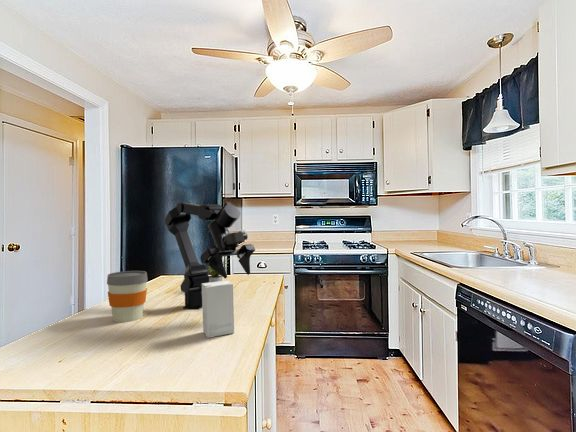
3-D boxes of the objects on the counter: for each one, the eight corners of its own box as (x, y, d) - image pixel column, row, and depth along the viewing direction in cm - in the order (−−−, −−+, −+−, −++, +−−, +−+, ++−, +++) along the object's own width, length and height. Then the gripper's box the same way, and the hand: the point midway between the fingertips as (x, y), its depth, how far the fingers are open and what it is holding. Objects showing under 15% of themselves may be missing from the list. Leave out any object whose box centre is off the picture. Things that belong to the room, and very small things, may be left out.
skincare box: (229, 328, 108) (228, 279, 108) (235, 334, 103) (234, 283, 103) (201, 332, 105) (201, 282, 105) (206, 338, 99) (205, 285, 99)
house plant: (227, 294, 154) (227, 256, 154) (196, 294, 154) (195, 256, 154) (233, 287, 168) (233, 252, 168) (204, 287, 168) (204, 253, 168)
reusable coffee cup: (156, 315, 122) (155, 272, 122) (125, 325, 111) (125, 278, 111) (129, 311, 128) (129, 269, 127) (98, 321, 116) (97, 275, 116)
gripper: (208, 222, 109) (225, 266, 103) (254, 221, 123) (272, 260, 116) (193, 242, 116) (208, 284, 109) (238, 239, 129) (255, 276, 123)
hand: (237, 275), depth 114 cm, fingers open, 9 cm apart
